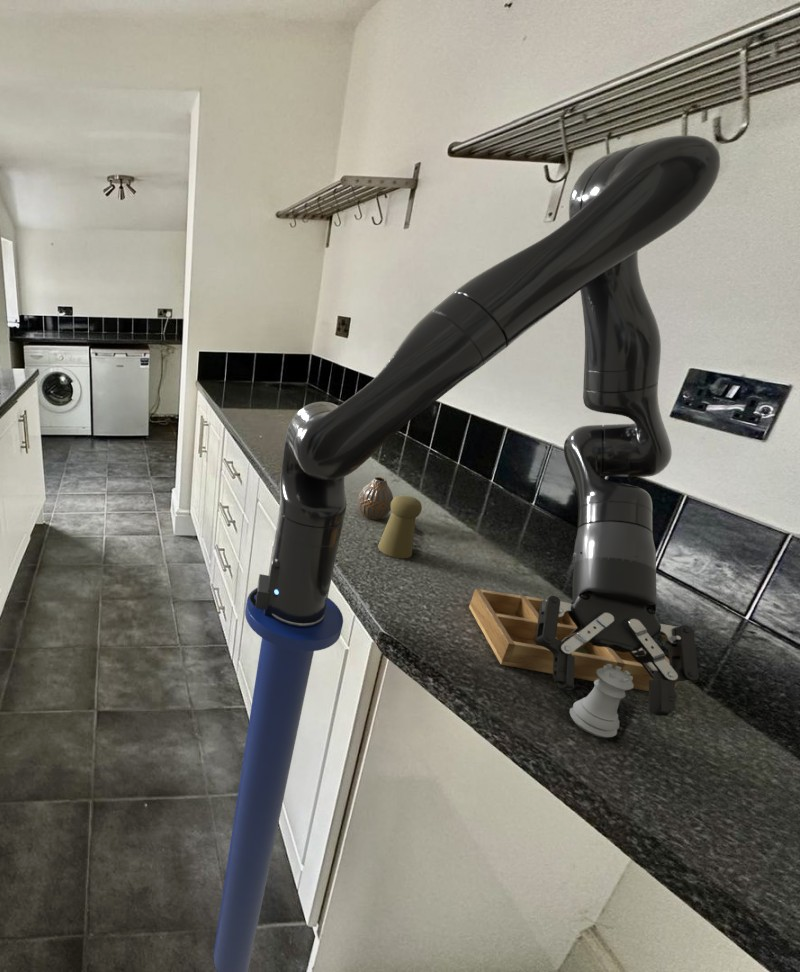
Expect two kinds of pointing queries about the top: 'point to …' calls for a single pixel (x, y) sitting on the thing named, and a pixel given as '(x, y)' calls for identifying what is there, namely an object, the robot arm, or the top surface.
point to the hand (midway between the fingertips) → (611, 701)
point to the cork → (400, 527)
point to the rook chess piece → (602, 702)
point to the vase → (375, 499)
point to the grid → (514, 637)
